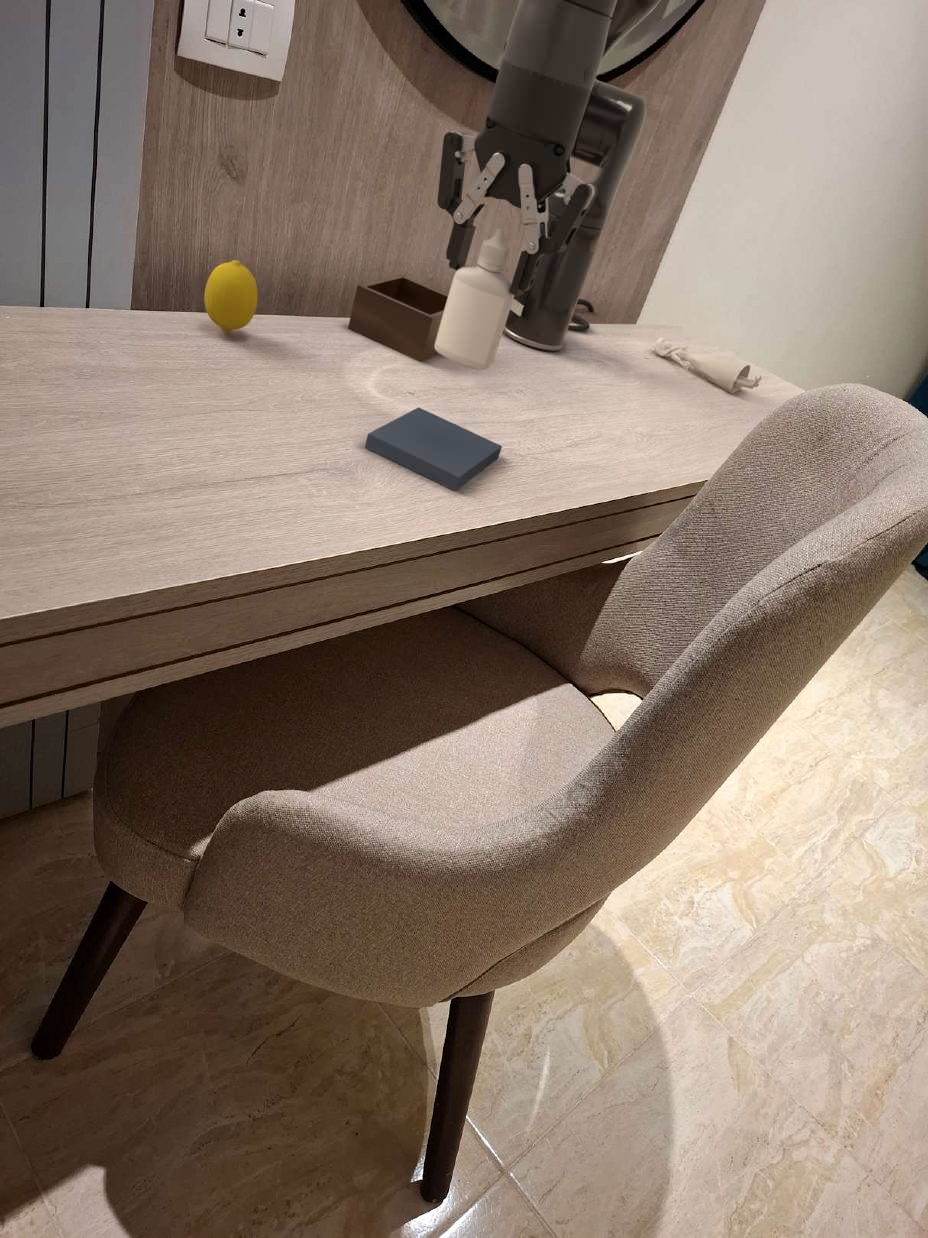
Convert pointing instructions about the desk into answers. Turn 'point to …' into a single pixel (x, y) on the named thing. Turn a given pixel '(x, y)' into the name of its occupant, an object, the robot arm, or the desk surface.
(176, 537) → the desk surface
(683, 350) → the woman figurine
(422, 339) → the box
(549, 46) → the robot arm
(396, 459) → the block
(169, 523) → the desk surface
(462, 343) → the eye dropper bottle
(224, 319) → the lemon
